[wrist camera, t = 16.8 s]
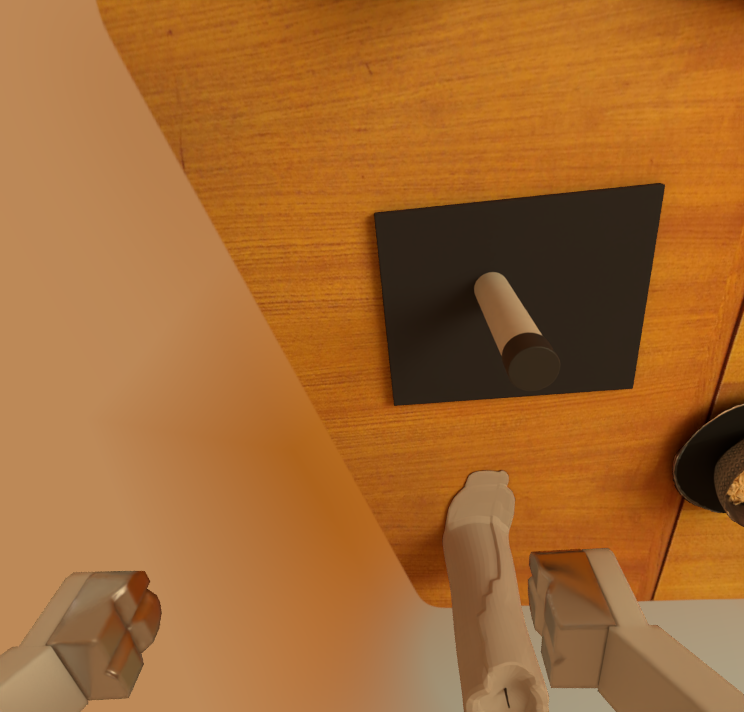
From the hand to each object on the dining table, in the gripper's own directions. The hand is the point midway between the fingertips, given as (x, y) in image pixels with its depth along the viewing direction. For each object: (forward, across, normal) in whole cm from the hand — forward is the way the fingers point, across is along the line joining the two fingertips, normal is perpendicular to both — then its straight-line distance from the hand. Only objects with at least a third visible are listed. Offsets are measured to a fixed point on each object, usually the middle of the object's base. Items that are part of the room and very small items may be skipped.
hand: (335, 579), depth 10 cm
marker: (+32, -9, +6) cm, 34 cm away
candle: (+33, -8, +33) cm, 47 cm away
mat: (+33, -11, +8) cm, 36 cm away
